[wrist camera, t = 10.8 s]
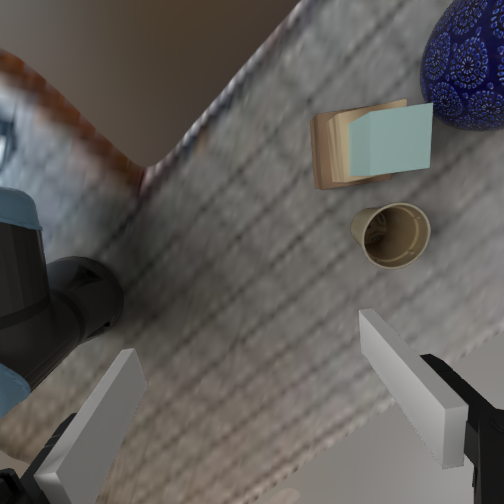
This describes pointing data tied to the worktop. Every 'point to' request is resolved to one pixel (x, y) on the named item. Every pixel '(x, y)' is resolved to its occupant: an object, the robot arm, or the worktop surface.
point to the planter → (466, 66)
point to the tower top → (340, 139)
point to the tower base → (323, 155)
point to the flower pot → (392, 234)
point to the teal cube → (391, 140)
